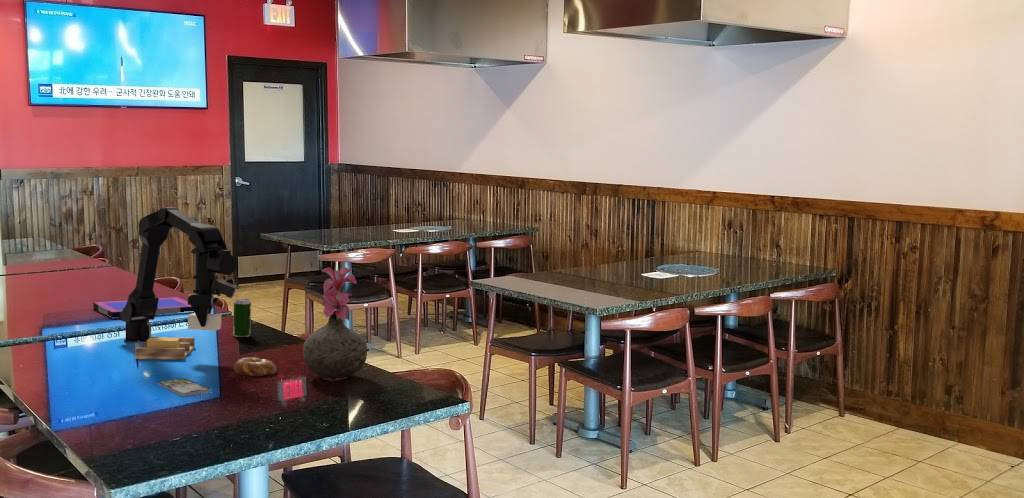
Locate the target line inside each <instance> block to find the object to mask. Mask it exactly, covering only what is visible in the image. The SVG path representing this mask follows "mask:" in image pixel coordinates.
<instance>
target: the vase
mask: <svg viewBox="0 0 1024 498" xmlns="http://www.w3.org/2000/svg"><path fill="white" fill-rule="evenodd" d="M352 270H353V267H350V268H348V267H347V266H346V267H345V266H342V267H341V268H340V269H339V270H337V269H335V270H333V269H332V267H331V266H330V267H325V268H324V269H322V270H321V272H323V273H325V274H327V275H329V276H330V278H327V279H325V281H324V283H323V296H322V298H323V300H322V304H321V306H323V307H324V308H323V309H322V312H323V314H324V316H325V317H326V318H328V321H327V323H326V324H325V325H324V326H321V327H320V328H318V329H316V330H315V331H313V332H311V334H309V336H308V337H306V339H305V341H304V342H303V345H302V356H303V357H302V358H303V361H304V364H305V366H306V368H307V369H308V370H309V371H311V372H312V373H314V374H315V375H318V376H320V378H321V377H323V378H331V379H336V378H345V377H347V378H349V377H350V376H352V375H355V374H356V373H357V372H359V371H360V370H361V369H362V368H363V367H364V365H365V364H366V362H367V357H368V346H367V345H368V344H367V342H366V341H365V339H364V338H363V337H362V336H361V334H359V333H358V332H356V331H355V330H353V329H351V328H349V327H348V326H346V325H345V324H344V323H346V322H345V320H347V321H348V322H350V317H351V316H350V307H349V306H348V303H349V302H350V300H351V299H350V298H349V297H351V296H353V294H352V293H350V292H346V291H342V292H341V290H342V287H343V286H344V284H345V283H352V284H356V285H357V280H356V277H355V276H354V274H352V273H350V272H351V271H352Z"/></svg>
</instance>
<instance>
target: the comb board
mask: <svg viewBox="0 0 1024 498" xmlns="http://www.w3.org/2000/svg"><path fill="white" fill-rule="evenodd" d="M150 338H180V348H147V341H146V342H142V343H141V347H135V360H185V359H186V358H187V357H188V355H189V354H190V353H191V352H192V351H193V350H194V348H195V347H196V346H195V345H196V344H195V337H189V336H187V337H185V336H177V337H176V336H175V337H172V336H151V337H148V339H150Z"/></svg>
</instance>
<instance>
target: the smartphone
mask: <svg viewBox="0 0 1024 498" xmlns="http://www.w3.org/2000/svg"><path fill="white" fill-rule="evenodd" d="M157 385H159V386H161V387H163V388H165V389H166V390H169V391H171V392H172V393H175V394H176V395H179V396H180V397H188V396H194V395H195V396H196V395H199V394H206V393H209V392H210V388H209V387H207V386H204V385H202V384H199V383H197V382H194V380H190V379H188V378H186V377H185V378H183V377H182V378H174V379H168V380H160V381H158V382H157Z"/></svg>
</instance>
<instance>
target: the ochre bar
mask: <svg viewBox="0 0 1024 498" xmlns="http://www.w3.org/2000/svg"><path fill="white" fill-rule="evenodd" d="M146 342H147V348H180V338H150V339H148V340H147V341H146Z"/></svg>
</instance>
